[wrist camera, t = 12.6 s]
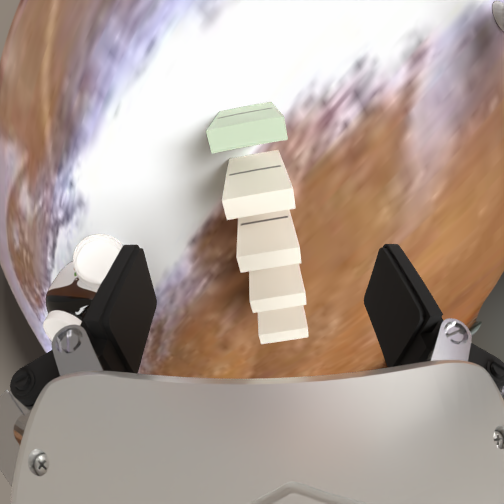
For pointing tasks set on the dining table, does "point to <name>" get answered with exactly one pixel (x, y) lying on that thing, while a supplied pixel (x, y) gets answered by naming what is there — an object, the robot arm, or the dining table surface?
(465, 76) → the dining table surface
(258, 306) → the domino
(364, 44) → the dining table surface
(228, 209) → the domino
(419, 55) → the dining table surface
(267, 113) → the green domino
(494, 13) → the chalice
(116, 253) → the spread jar
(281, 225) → the domino
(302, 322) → the domino
